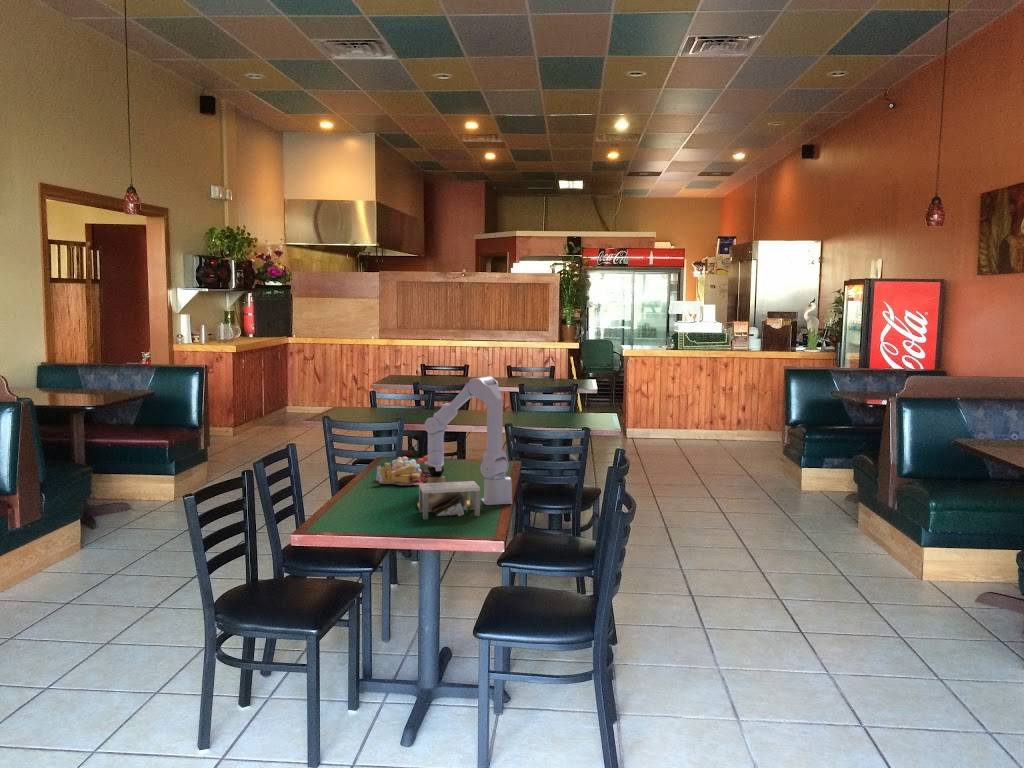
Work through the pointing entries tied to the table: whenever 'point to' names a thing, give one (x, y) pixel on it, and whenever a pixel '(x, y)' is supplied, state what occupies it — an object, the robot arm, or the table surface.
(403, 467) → the candy landscape model
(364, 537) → the table surface
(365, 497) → the table surface
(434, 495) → the sled
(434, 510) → the chocolate cake
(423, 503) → the tunnel
